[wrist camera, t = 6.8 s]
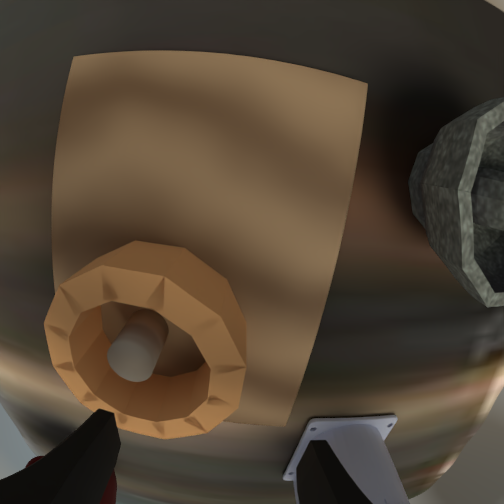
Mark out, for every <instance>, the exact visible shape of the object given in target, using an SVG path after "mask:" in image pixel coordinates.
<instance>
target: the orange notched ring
mask: <svg viewBox="0 0 504 504" xmlns="http://www.w3.org/2000/svg"><path fill="white" fill-rule="evenodd" d="M110 301H115V302H119V303H124V304H129V305H134V306H139V307H144V308H150V309H154V310H155V311H157V312H158V313H159V314H161V315H162V316H164V317H165V318H166V319H168V320H169V321H171V322H172V323H174V324H175V325H176V326H178V327H179V328H181V329H182V330H184V331H185V332H187V333H188V334H190V335H191V336H192V338H193V339H194V341H195V343H196V345H197V347H198V348H199V350H200V352H201V354H202V355H203V357H204V359H205V361H206V362H205V363H204V364H203V365H202V366H201V367H200V368H199V369H198V370H197V371H193V372H189V373H185V374H181V375H177V376H173V377H168V376H163V375H158V374H153V373H152V375H151V376H150V377H149V378H148V379H147V380H145V381H141V382H133V381H129V380H126V379H124V378H122V377H121V376H119V375H118V374H117V373H116V372H114V370H113V369H112V368H111V366H110V365H109V363H108V359H107V352H108V349H109V348H110V346H111V345H112V344H111V343H110V341H109V339H108V338H107V336H106V335H105V333H104V331H103V328H102V315H101V305H102V304H104V303H107V302H110ZM44 327H45V333H46V338H47V342H48V347H49V352H50V356H51V360H52V364H53V367H54V368H55V369H56V371H57V372H58V374H59V375H60V376H61V378H62V379H63V381H64V382H65V383H66V385H67V386H68V387H69V389H70V390H71V391H72V393H73V394H74V395H75V396H76V398H77V399H78V400H79V401H80V403H82V404H83V405H85V406H86V407H87V408H89V409H90V410H92V411H93V412H95V411H96V410H97V409H99V408H100V409H103V410H106V411H110V412H113V413H114V415H115V420H116V424H117V427H118V428H120V429H124V430H127V431H131V432H135V433H139V434H143V435H147V436H152V437H156V438H161V439H172V438H179V437H186V436H192V435H198V434H204V433H208V432H209V431H210V430H212V429H213V428H214V427H216V426H217V425H218V424H219V423H221V422H222V421H223V420H224V419H226V418H227V417H228V416H229V415H231V414H232V413H233V412H234V411H236V410H237V409H238V407H239V402H240V397H241V392H242V387H243V382H244V377H245V372H246V367H247V365H246V320H245V318H244V316H243V314H242V312H241V309H240V307H239V305H238V303H237V301H236V298H235V296H234V294H233V292H232V289H231V287H230V285H229V283H228V280H227V279H226V278H224V277H223V276H222V275H220V274H219V273H218V272H216V271H215V270H214V269H212V268H211V267H210V266H208V265H207V264H206V263H204V262H203V261H202V260H200V259H199V258H198V257H196V256H195V255H194V254H192V253H191V252H190V251H188V250H187V249H186V248H182V247H176V246H169V245H162V244H156V243H149V242H142V241H136V240H135V241H133V242H131V243H129V244H126V245H124V246H122V247H120V248H118V249H115V250H113V251H111V252H109V253H107V254H105V255H103V256H100V257H98V258H96V259H95V260H93V261H92V262H91V263H89V264H88V265H86V266H85V267H84V268H82V269H81V270H79V271H78V272H77V273H75V274H74V275H72V276H71V277H70V278H68V279H67V280H66V281H64V282H63V283H61V284H60V285H59V287H58V289H57V292H56V294H55V296H54V299H53V301H52V304H51V306H50V308H49V311H48V314H47V316H46V319H45V321H44Z"/></svg>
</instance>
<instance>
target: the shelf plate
mask: <svg viewBox="0 0 504 504" xmlns="http://www.w3.org/2000/svg"><path fill="white" fill-rule="evenodd" d="M367 87H368V84H367V83H364V82H361V81H357V80H354V79H351V78H347V77H344V76H340V75H337V74H333V73H329V72H325V71H321V70H317V69H313V68H309V67H304V66H300V65H295V64H290V63H285V62H279V61H274V60H268V59H261V58H255V57H248V56H240V55H231V54H221V53H209V52H193V51H127V52H112V53H100V54H91V55H82V56H75V57H74V58H73V61H72V65H71V69H70V73H69V77H68V81H67V86H66V90H65V95H64V100H63V105H62V110H61V116H60V122H59V128H58V135H57V143H56V151H55V161H54V172H53V186H52V214H51V233H52V261H53V276H54V287H55V294H56V292H57V289H58V287H59V285H60V284H61V283H63V282H64V281H66V280H67V279H68V278H70V277H71V276H72V275H74V274H75V273H77V272H78V271H79V270H81V269H82V268H84V267H85V266H86V265H88V264H89V263H91V262H92V261H93V260H95V259H96V258H98V257H100V256H103V255H105V254H107V253H109V252H111V251H113V250H115V249H118V248H120V247H122V246H124V245H126V244H129V243H131V242H133V241H135V240H136V241H142V242H149V243H156V244H162V245H169V246H176V247H182V248H186V249H187V250H188V251H190V252H191V253H192V254H194V255H195V256H196V257H198V258H199V259H200V260H202V261H203V262H204V263H206V264H207V265H208V266H210V267H211V268H212V269H214V270H215V271H216V272H218V273H219V274H220V275H222V276H223V277H224V278H226V279H227V280H228V283H229V285H230V287H231V289H232V292H233V294H234V296H235V298H236V301H237V303H238V305H239V307H240V309H241V312H242V314H243V316H244V318H245V320H246V365H247V367H246V372H245V377H244V382H243V387H242V392H241V397H240V402H239V407H238V409H237V410H236V411H234V412H233V413H232V414H231V415H229V416H228V417H227V418H226V419H224V420H223V421H224V422H233V423H243V424H254V425H267V426H286V424H287V421H288V418H289V416H290V413H291V410H292V407H293V405H294V402H295V399H296V396H297V393H298V390H299V388H300V385H301V382H302V379H303V376H304V373H305V370H306V367H307V363H308V360H309V357H310V354H311V351H312V348H313V344H314V341H315V338H316V335H317V331H318V328H319V324H320V321H321V317H322V314H323V310H324V307H325V303H326V300H327V296H328V292H329V288H330V285H331V281H332V277H333V273H334V269H335V265H336V261H337V257H338V253H339V248H340V244H341V240H342V235H343V231H344V226H345V222H346V217H347V212H348V207H349V202H350V197H351V192H352V187H353V182H354V176H355V170H356V165H357V159H358V153H359V147H360V140H361V134H362V127H363V119H364V112H365V104H366V96H367ZM101 315H102V328H103V331H104V333H105V335H106V336H107V338H108V339H109V341H110V343H111V344H112V345H111V346H110V348H109V349H108V352H107V359H108V363H109V365H110V366H111V368H112V369H113V370H114V372H116V373H117V374H118V375H119V376H121V377H122V378H124V379H126V380H129V381H133V382H141V381H145V380H147V379H148V378H149V377H150V376H151V375H152V373H153V374H158V375H163V376H168V377H173V376H177V375H181V374H185V373H189V372H193V371H197V370H198V369H199V368H200V367H201V366H202V365H203V364H204V363H205V362H206V361H205V359H204V357H203V355H202V354H201V352H200V350H199V348H198V347H197V345H196V343H195V341H194V339H193V338H192V336H191V335H190V334H188V333H187V332H185V331H184V330H182V329H181V328H179V327H178V326H176V325H175V324H174V323H172V322H171V321H169V320H168V319H166V318H165V317H164V316H162V315H161V314H159V313H158V312H157V311H155V310H154V309H150V308H144V307H139V306H134V305H129V304H124V303H119V302H115V301H110V302H107V303H104V304H102V305H101Z"/></svg>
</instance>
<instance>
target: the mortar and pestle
mask: <svg viewBox="0 0 504 504" xmlns="http://www.w3.org/2000/svg"><path fill="white" fill-rule="evenodd" d="M408 185H409V192H410V198H411V205H412V212H413V215H414V216H415V217H416V218H417V219H418V221H419V222H420V223H421V224H422V225H423V227H424V228H425V229H426V234H427V237H428V241H429V244H430V246H431V248H432V249H433V250H434V251H435V252H436V254H437V255H438V256H439V258H440V259H441V260H442V261H443V263H444V264H445V265H446V266H447V268H448V269H449V270H450V272H451V273H452V274H453V276H454V277H455V278H456V280H457V281H458V282H459V283H460V284H461V285H462V286H463V287H464V288H465V289H466V290H467V292H468V293H469V294H470V295H471V296H472V297H474V298H475V299H477V300H478V301H479V302H481V303H482V304H484V305H485V306H486V307H495V306H504V98H497V99H492V100H490V101H487V102H485V103H483V104H480V105H478V106H476V107H474V108H472V109H471V110H469V111H467V112H466V113H464V114H463V115H461V116H459V117H458V118H456V119H454V120H453V121H451V122H450V123H448V124H446V125H445V126H443V127H442V128H441V129H440V131H439V132H438V134H437V136H436V138H435V139H434V142H433V143H432V144H430V145H429V146H427V147H426V148H424V149H423V150H421V151H420V152H418V154H417V157H416V160H415V163H414V166H413V169H412V172H411V175H410V177H409V180H408Z"/></svg>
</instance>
